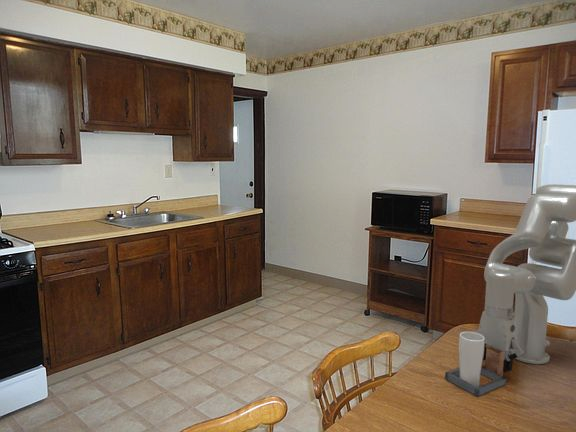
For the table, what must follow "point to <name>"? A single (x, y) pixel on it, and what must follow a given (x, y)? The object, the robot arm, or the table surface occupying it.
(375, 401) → the table surface
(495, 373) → the frame
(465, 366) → the drinking glass
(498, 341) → the robot arm
